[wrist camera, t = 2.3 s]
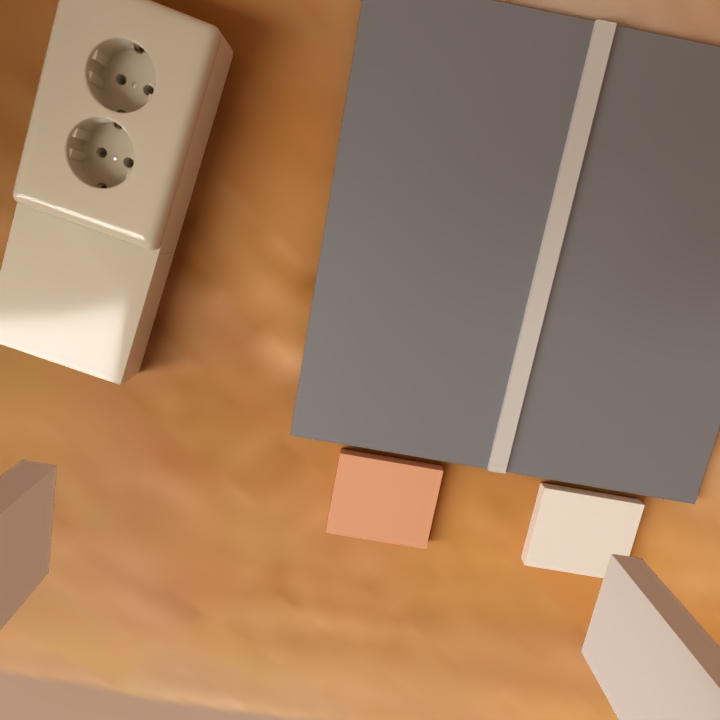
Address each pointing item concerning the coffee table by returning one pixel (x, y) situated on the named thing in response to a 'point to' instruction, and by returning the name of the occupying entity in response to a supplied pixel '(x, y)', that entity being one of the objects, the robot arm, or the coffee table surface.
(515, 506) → the coffee table surface
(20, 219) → the electrical outlet
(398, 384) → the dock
